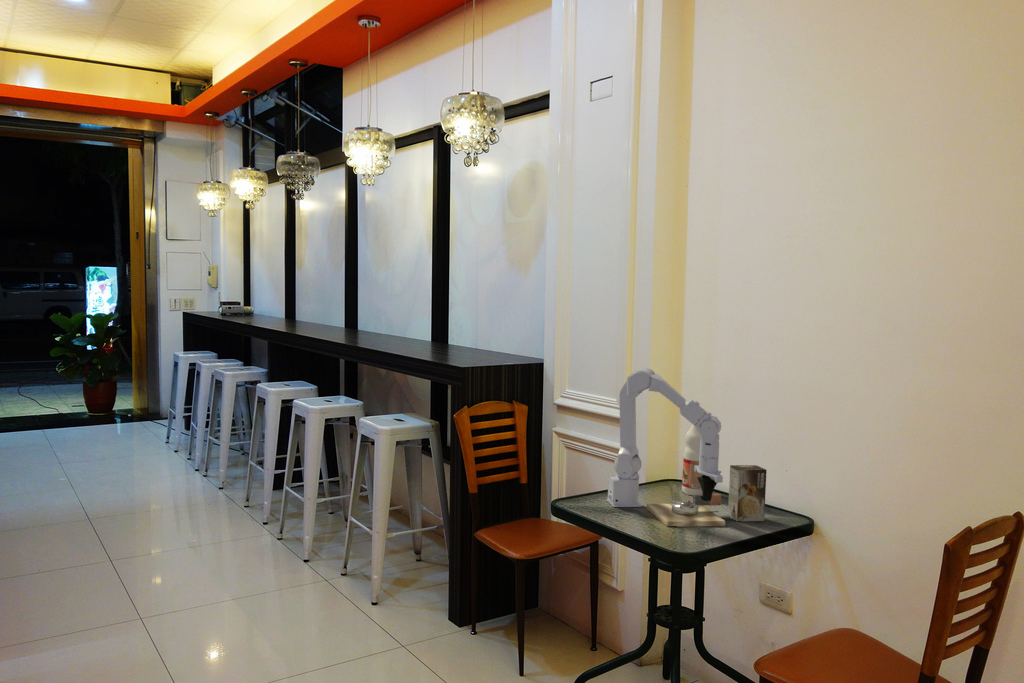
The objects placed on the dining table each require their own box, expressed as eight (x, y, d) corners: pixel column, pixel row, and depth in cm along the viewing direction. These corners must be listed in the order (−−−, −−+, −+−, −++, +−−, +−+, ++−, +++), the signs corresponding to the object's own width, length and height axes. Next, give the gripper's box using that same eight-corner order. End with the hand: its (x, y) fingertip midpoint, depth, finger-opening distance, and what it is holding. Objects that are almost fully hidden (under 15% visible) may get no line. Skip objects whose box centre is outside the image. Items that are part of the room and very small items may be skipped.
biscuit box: (754, 515, 226) (757, 464, 225) (764, 521, 220) (767, 469, 219) (726, 515, 225) (729, 464, 224) (736, 522, 219) (739, 469, 218)
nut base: (667, 526, 211) (667, 521, 211) (646, 508, 229) (646, 503, 229) (731, 525, 214) (731, 520, 214) (706, 508, 232) (706, 503, 232)
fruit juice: (701, 498, 244) (706, 416, 242) (676, 492, 250) (680, 412, 248) (714, 493, 251) (718, 413, 249) (689, 487, 257) (694, 409, 255)
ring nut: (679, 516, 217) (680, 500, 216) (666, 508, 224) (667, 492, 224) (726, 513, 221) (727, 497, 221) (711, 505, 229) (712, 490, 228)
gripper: (732, 461, 215) (730, 506, 216) (709, 451, 229) (707, 493, 230) (711, 461, 214) (708, 507, 214) (689, 451, 228) (687, 494, 229)
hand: (706, 500), depth 222 cm, fingers closed, pressing on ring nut
